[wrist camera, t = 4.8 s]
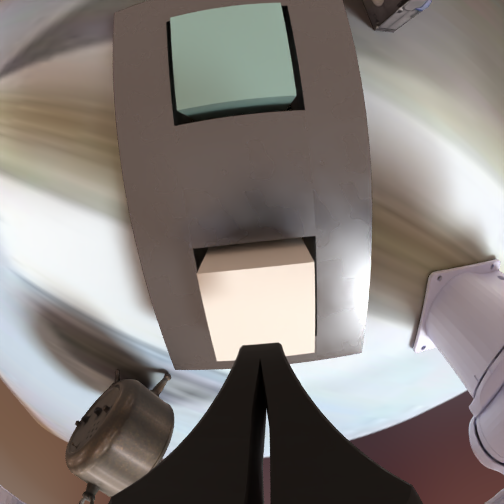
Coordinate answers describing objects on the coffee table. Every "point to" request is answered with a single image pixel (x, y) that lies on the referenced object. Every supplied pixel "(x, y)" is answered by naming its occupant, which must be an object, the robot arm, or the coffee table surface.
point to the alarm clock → (120, 437)
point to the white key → (259, 296)
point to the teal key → (232, 61)
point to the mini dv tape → (393, 12)
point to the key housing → (247, 174)
